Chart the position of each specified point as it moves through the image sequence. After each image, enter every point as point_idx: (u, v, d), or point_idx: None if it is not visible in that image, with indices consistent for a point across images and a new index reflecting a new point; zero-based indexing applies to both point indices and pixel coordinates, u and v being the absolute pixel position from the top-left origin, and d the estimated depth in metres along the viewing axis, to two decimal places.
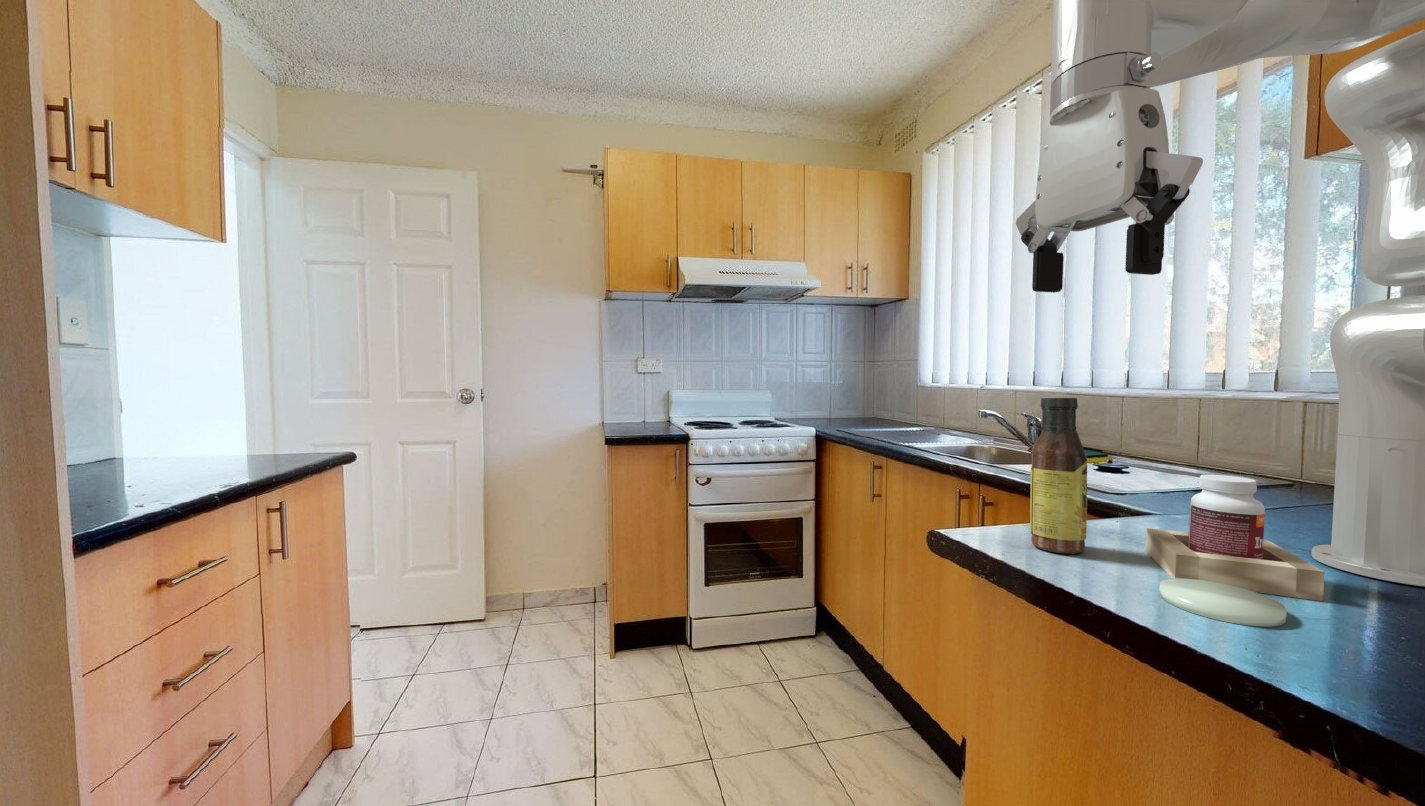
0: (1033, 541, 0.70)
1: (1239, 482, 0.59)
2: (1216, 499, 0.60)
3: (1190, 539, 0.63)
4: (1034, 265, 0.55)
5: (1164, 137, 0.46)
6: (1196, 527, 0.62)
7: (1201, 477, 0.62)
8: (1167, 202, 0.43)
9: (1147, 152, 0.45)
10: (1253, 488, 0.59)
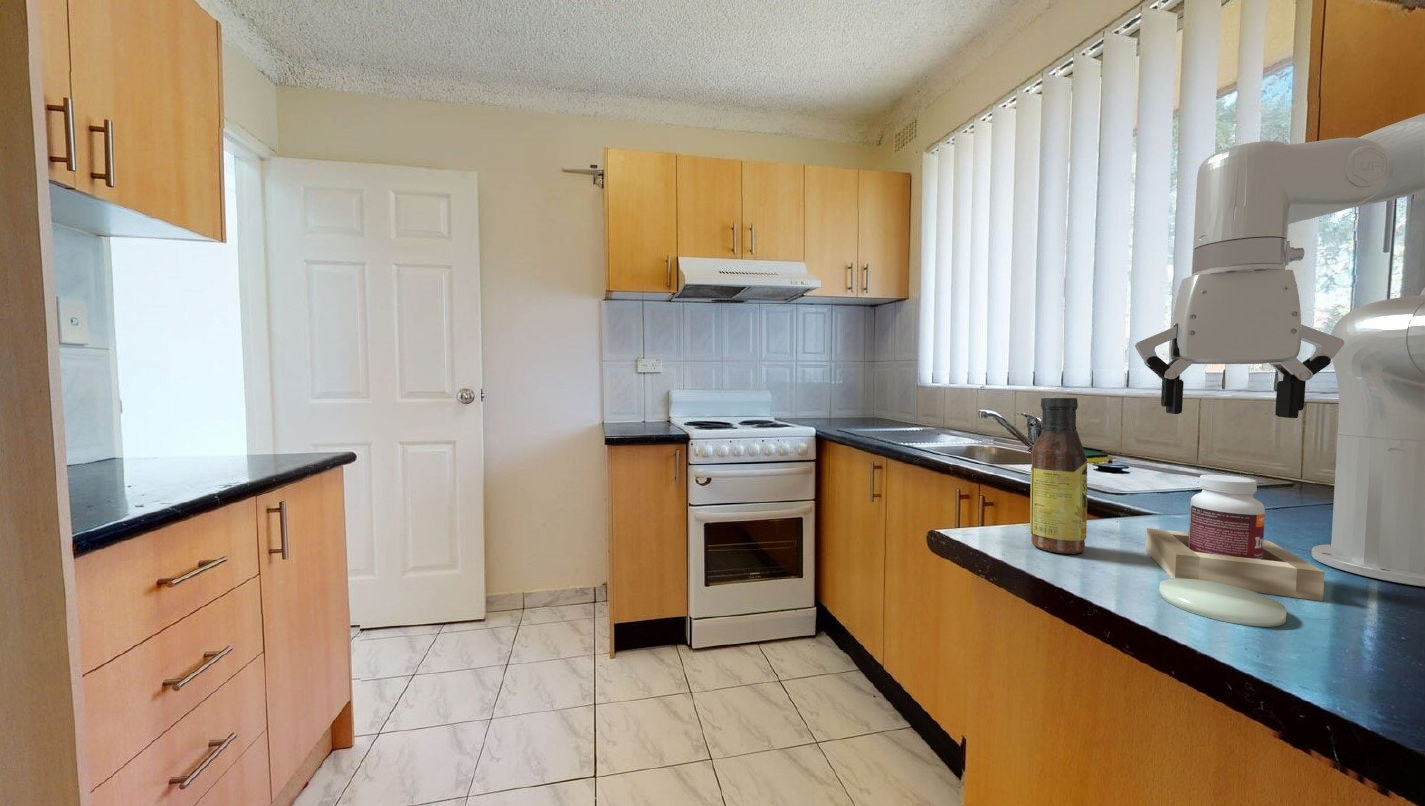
0: (1033, 541, 0.70)
1: (1239, 482, 0.59)
2: (1216, 499, 0.60)
3: (1190, 539, 0.63)
4: (1177, 391, 0.61)
5: None
6: (1196, 527, 0.62)
7: (1201, 477, 0.62)
8: (1321, 369, 0.57)
9: None
10: (1253, 488, 0.59)
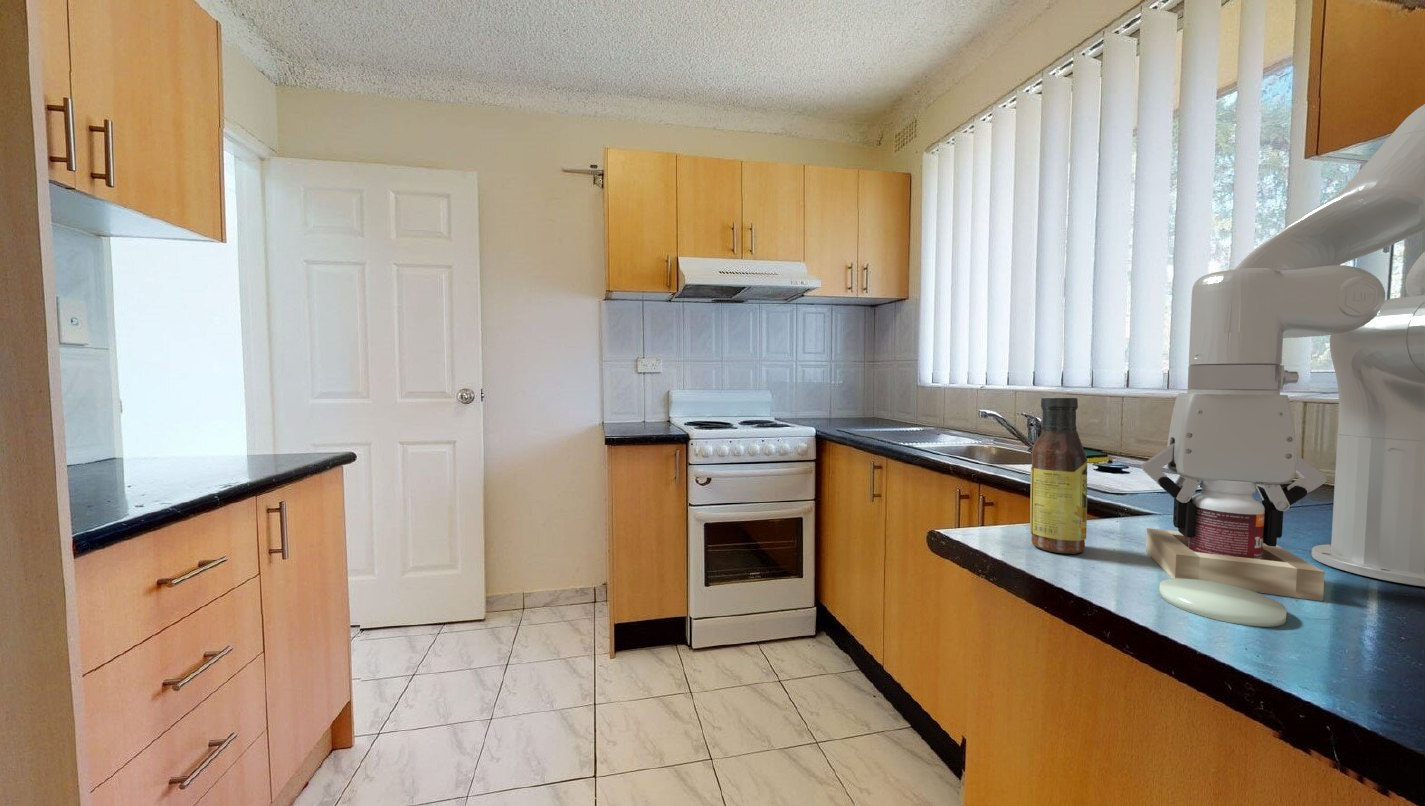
0: (1033, 541, 0.70)
1: (1239, 482, 0.59)
2: (1215, 499, 0.60)
3: (1190, 539, 0.63)
4: (1190, 515, 0.61)
5: None
6: (1196, 527, 0.62)
7: None
8: (1298, 499, 0.58)
9: None
10: (1253, 488, 0.59)
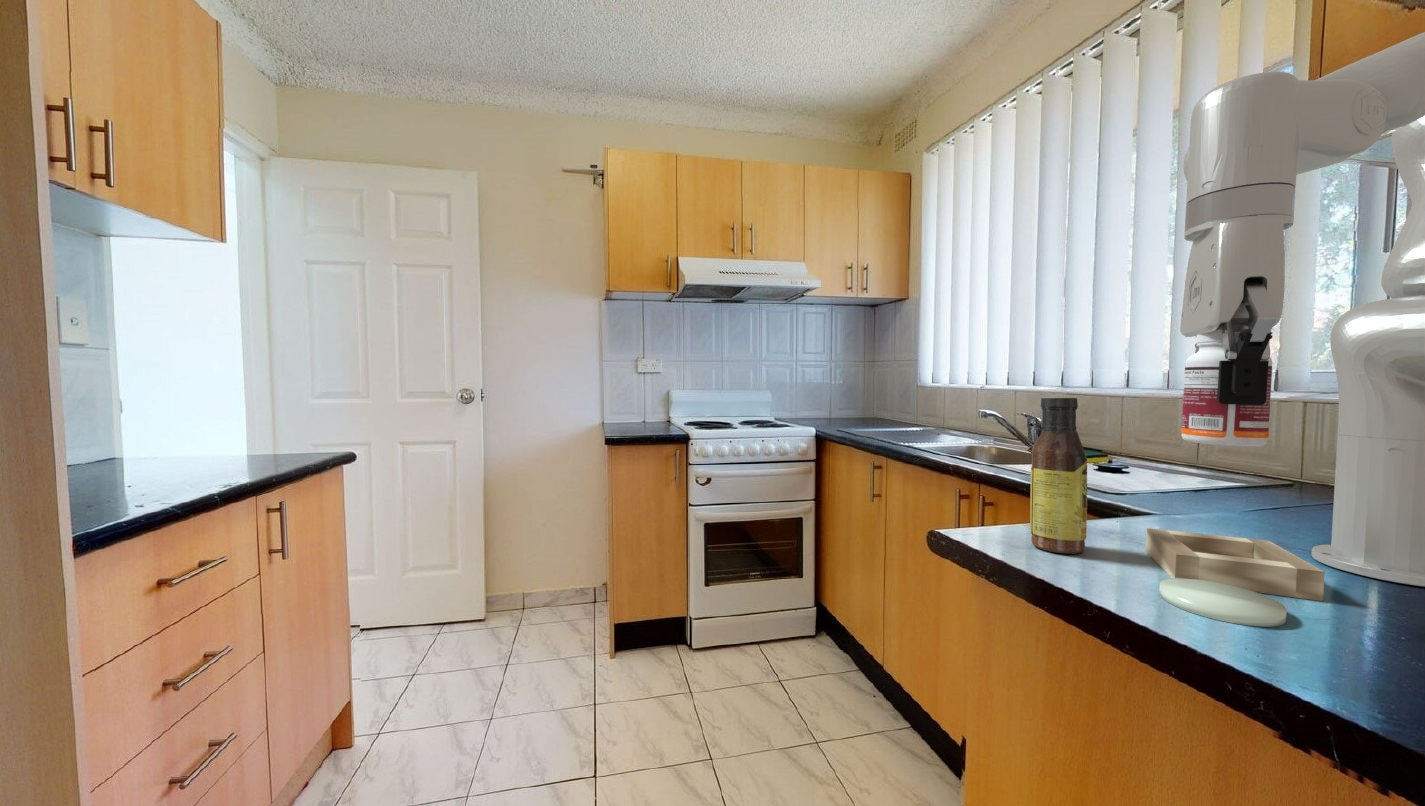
0: (1033, 541, 0.70)
1: None
2: None
3: (1239, 409, 0.50)
4: (1266, 376, 0.48)
5: None
6: None
7: None
8: None
9: None
10: None
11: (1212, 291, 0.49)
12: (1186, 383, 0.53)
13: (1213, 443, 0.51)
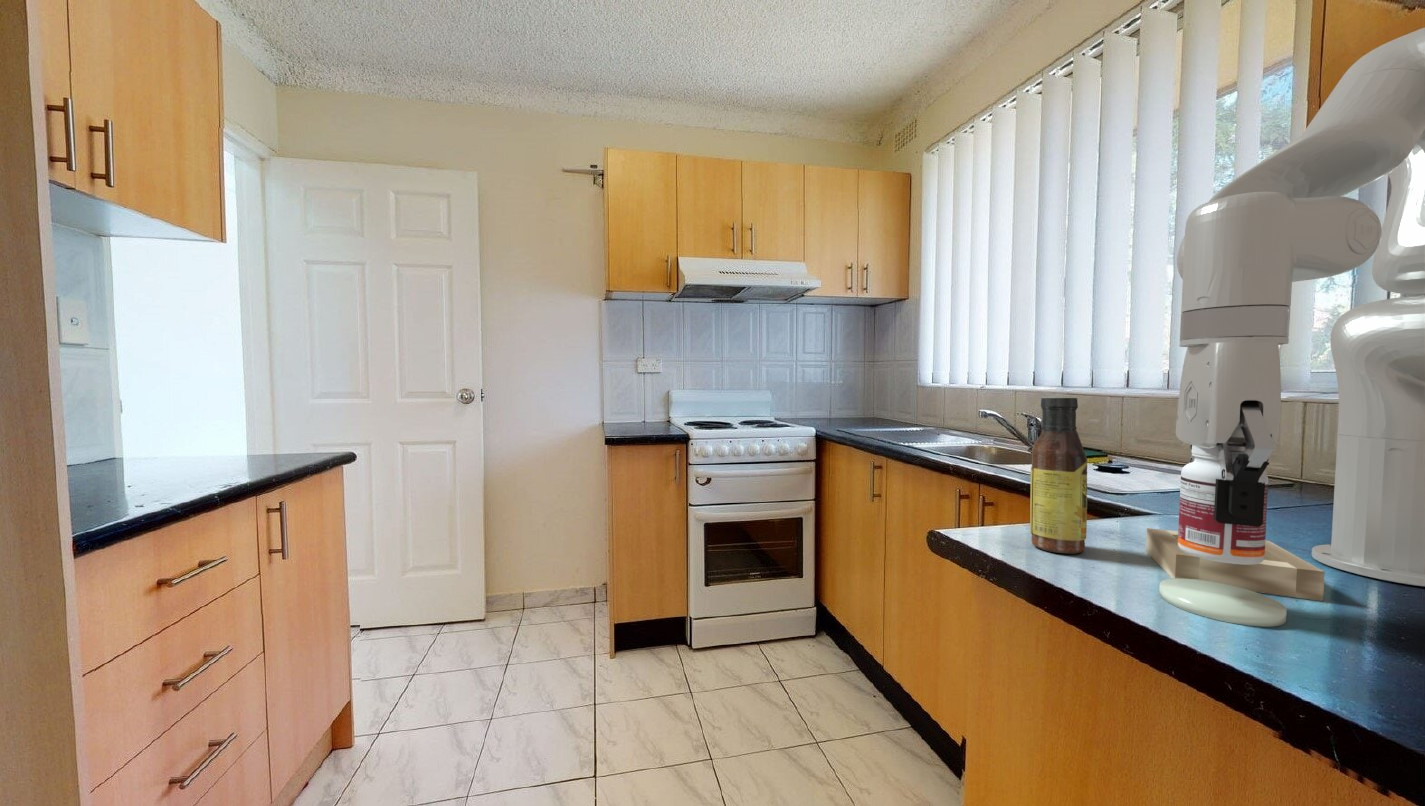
0: (1033, 541, 0.70)
1: None
2: None
3: (1236, 527, 0.49)
4: (1263, 498, 0.48)
5: None
6: None
7: None
8: None
9: None
10: None
11: (1208, 410, 0.49)
12: (1182, 493, 0.53)
13: (1210, 559, 0.51)
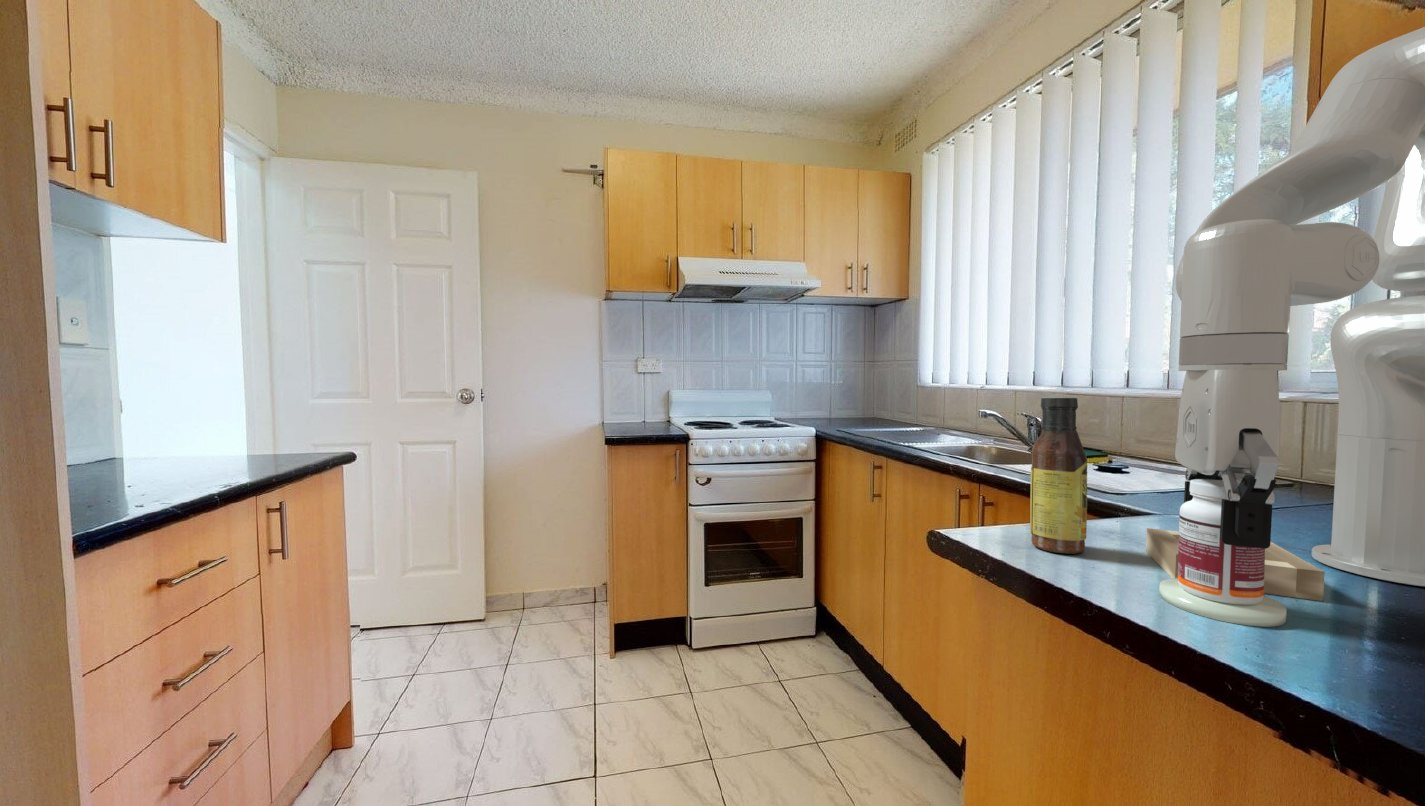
0: (1033, 541, 0.70)
1: None
2: None
3: (1234, 568, 0.50)
4: None
5: None
6: (1247, 551, 0.49)
7: None
8: None
9: None
10: None
11: (1207, 437, 0.49)
12: (1181, 532, 0.54)
13: (1209, 599, 0.51)
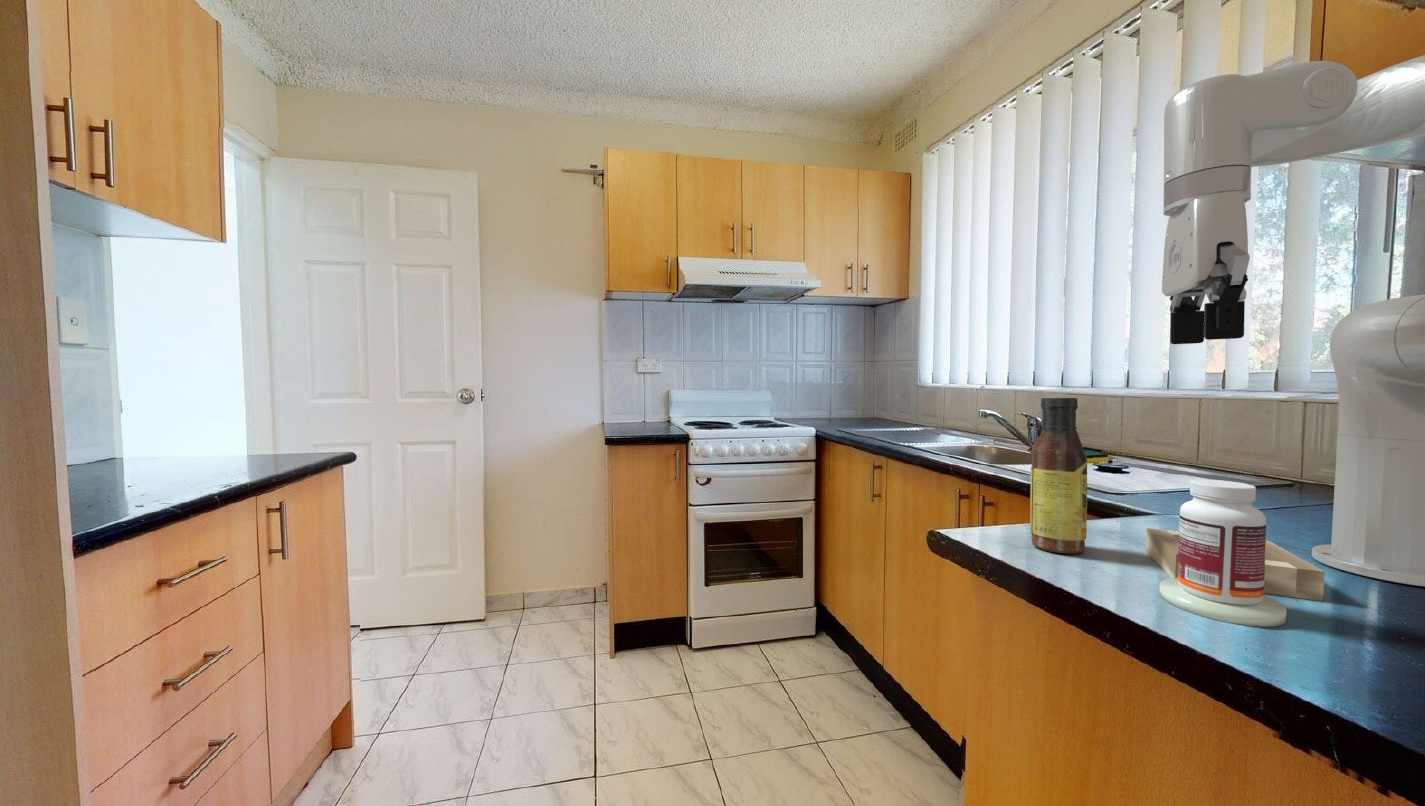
0: (1033, 541, 0.70)
1: (1251, 486, 0.52)
2: (1256, 511, 0.50)
3: (1234, 569, 0.50)
4: (1243, 314, 0.58)
5: None
6: (1247, 552, 0.49)
7: (1232, 489, 0.50)
8: None
9: None
10: None
11: (1191, 255, 0.60)
12: (1181, 532, 0.54)
13: (1209, 599, 0.51)
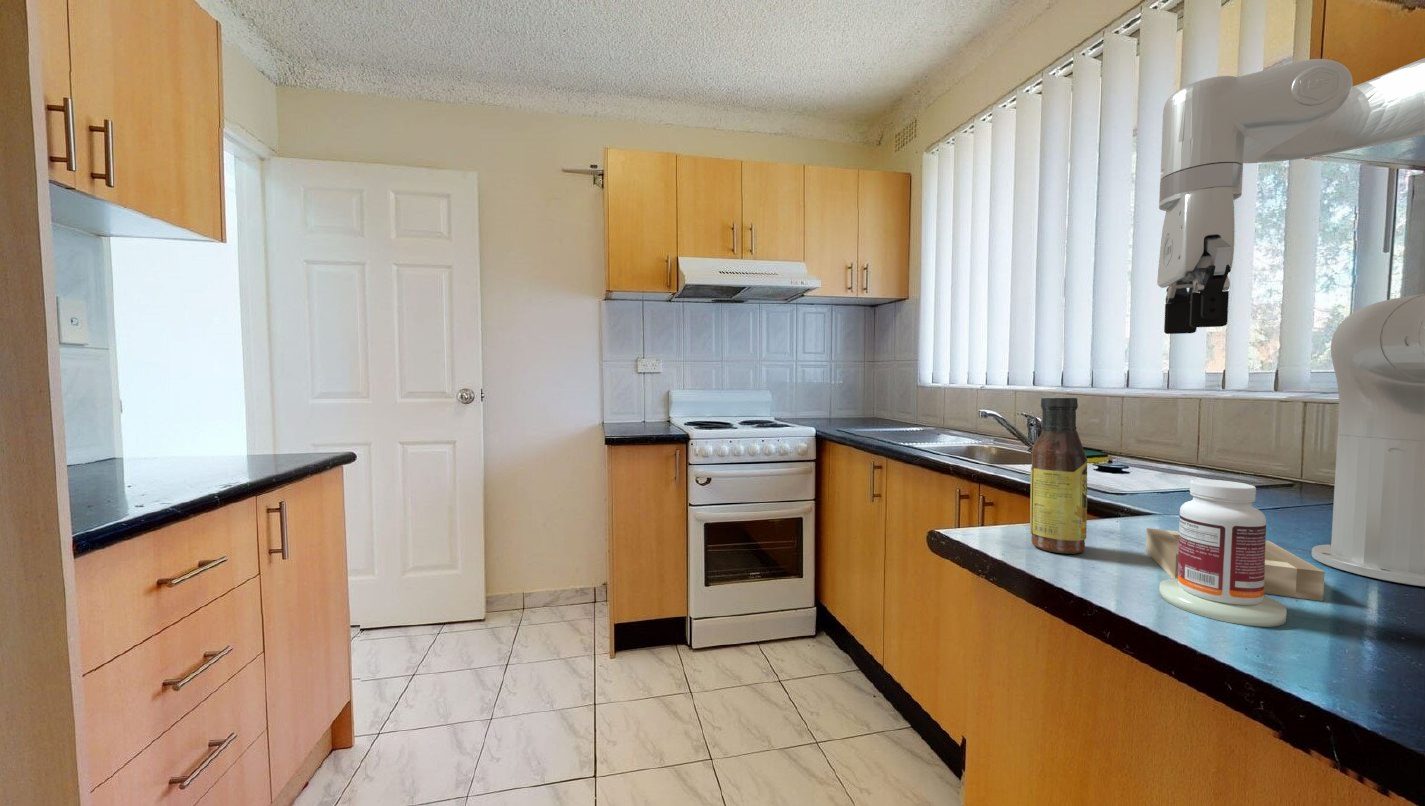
0: (1033, 541, 0.70)
1: (1251, 486, 0.52)
2: (1256, 511, 0.50)
3: (1234, 569, 0.50)
4: (1227, 303, 0.61)
5: None
6: (1247, 552, 0.49)
7: (1232, 489, 0.50)
8: None
9: None
10: None
11: (1180, 247, 0.64)
12: (1181, 532, 0.54)
13: (1209, 599, 0.51)
